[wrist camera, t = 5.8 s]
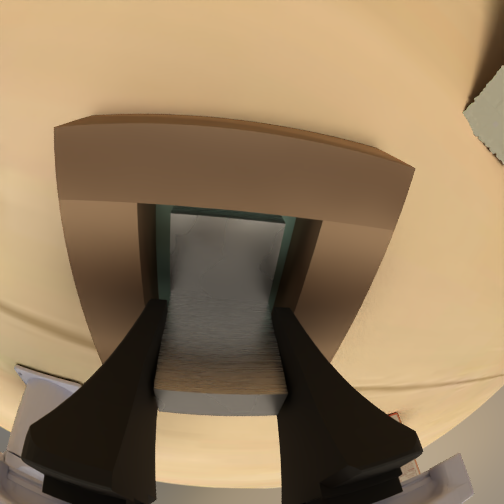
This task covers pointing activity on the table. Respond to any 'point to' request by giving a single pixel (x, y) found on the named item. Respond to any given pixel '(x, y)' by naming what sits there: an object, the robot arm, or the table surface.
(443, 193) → the table surface
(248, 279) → the grey block
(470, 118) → the grey slanted stand
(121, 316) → the well block
